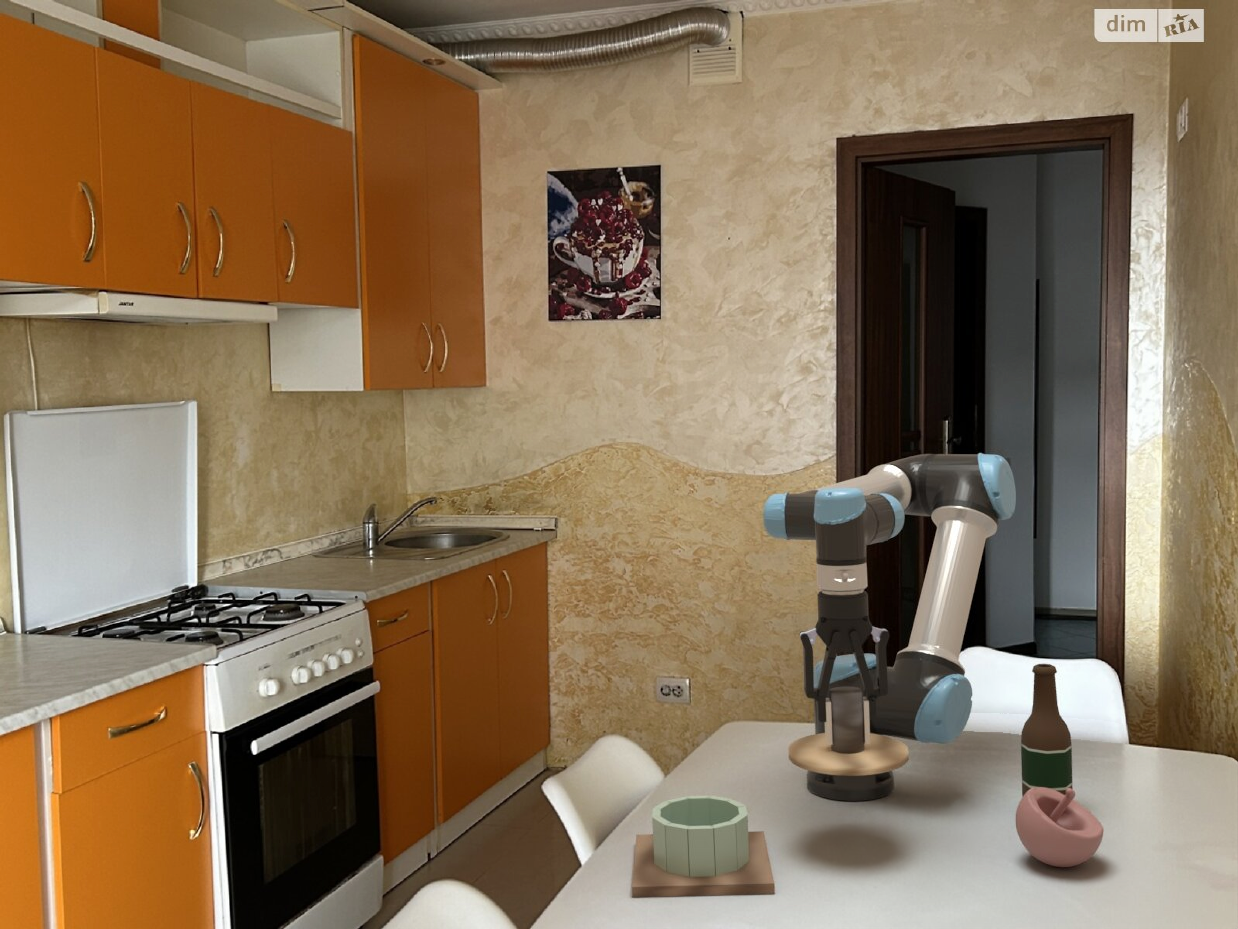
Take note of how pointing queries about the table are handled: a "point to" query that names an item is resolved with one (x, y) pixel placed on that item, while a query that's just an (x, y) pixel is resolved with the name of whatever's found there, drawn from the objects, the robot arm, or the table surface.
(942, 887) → the table surface
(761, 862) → the serving board
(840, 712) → the lid
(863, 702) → the robot arm
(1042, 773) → the beer bottle
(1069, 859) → the mortar and pestle
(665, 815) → the bowl
